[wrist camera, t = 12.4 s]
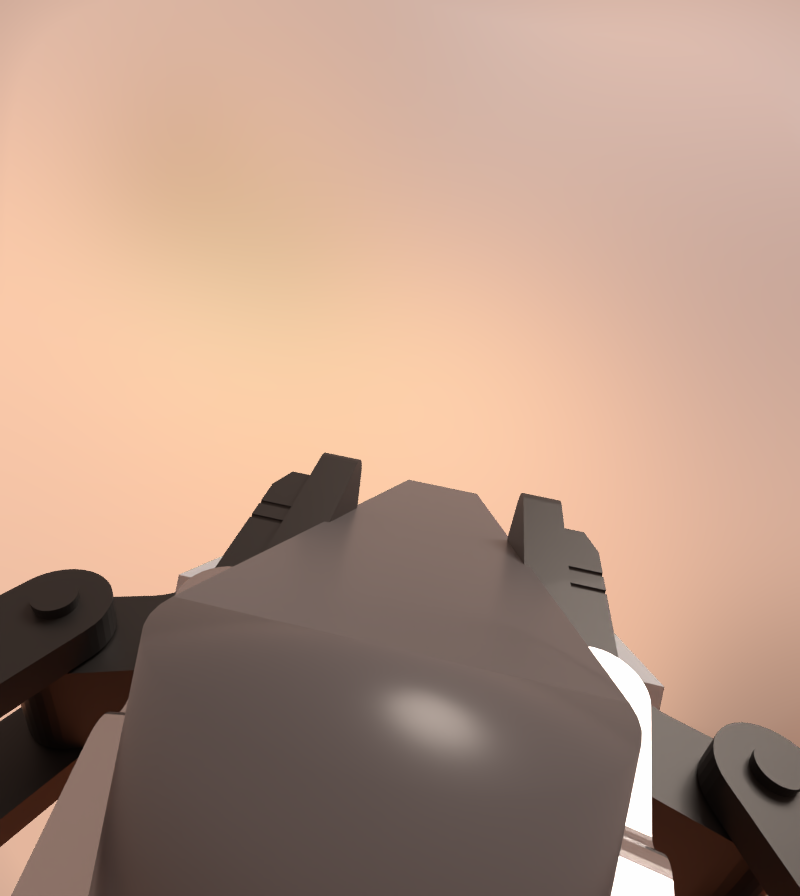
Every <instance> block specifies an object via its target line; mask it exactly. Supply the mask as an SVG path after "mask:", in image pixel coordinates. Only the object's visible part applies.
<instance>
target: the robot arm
mask: <svg viewBox="0 0 800 896" xmlns="http://www.w3.org/2000/svg"><path fill="white" fill-rule="evenodd" d="M361 464H362V463H361V460H358V459H353V458H348V457H344V456H338V455H334V454H329V453H324V454H323V455H322V456H321V458H320V460H319V461H318V463H317V465H316V466H315V468H314V470H313V471H312V473H311V475H306V474H302V473H297V472H291V473H290V474H288V475H286V476H285V477H283V478H282V479H280V480H278V481H277V482H275V483H273V484H272V486H271V487H270V488H269V490H268V491H267V493H266V494H265V496H264V497H263V499H262V501H261V503H259V504H258V506H257V507H256V509H255V510H254V512H253V513H252V517H250V518H249V519H248V521H247V522H246V524H245V525H244V526H243V528H242V529H241V531H240V532H239V533H238V535H237V536H236V538H235V539H234V541H233V542H232V544H231V545H230V547H229V548H228V549H227V551H226V552H225V554H224V555H223V557H222V558H221V560H220V561H219V563H218V564H217V565H216V567H215V568H212V569H208V570H205V571H202V572H200V573H198V574H196V575H194V576H192V577H191V578H189V579H188V580H187V581H186V582H184V583H183V584H182V585H181V587H180V588H179V589H178V591H177V592H175V593H171V594H166V595H157V596H132V597H113V592H112V588H111V586H110V584H109V582H108V581H107V580H106V579H105V578H104V577H102V576H100V575H99V574H96V573H94V572H91V571H86V570H78V569H69V570H60V571H54V572H50V573H46V574H43V575H40V576H37V577H35V578H33V579H31V580H29V581H27V582H25V583H23V584H21V585H19V586H17V587H15V588H13V589H11V590H9V591H7V592H5V593H3V594H2V595H0V718H1V717H2V716H3V715H5V714H7V713H8V712H10V711H11V710H13V709H14V708H16V707H17V706H19V705H20V704H21V708H19V709H18V710H16V711H15V712H13V713H12V714H11V715H9V716H7V717H6V718H4V719H3V720H2V721H0V847H1V846H2V845H3V844H4V843H6V842H7V841H8V840H9V839H10V838H12V837H13V836H14V835H15V834H16V833H18V832H19V831H20V830H21V829H23V828H24V827H25V826H26V825H27V824H29V823H30V822H31V821H32V820H33V819H35V818H36V817H37V816H38V815H40V814H41V813H42V812H43V811H44V810H46V809H47V808H48V807H49V806H50V805H52V804H53V803H54V802H55V801H56V800H58V801H57V803H56V805H55V807H54V809H53V811H52V813H51V815H50V817H49V819H48V821H47V823H46V825H45V828H44V829H43V832H42V834H41V836H40V838H39V840H38V842H37V844H36V846H35V848H34V850H33V852H32V854H31V856H30V859H29V860H28V862H27V865H26V867H25V869H24V871H23V873H22V875H21V877H20V879H19V881H18V883H17V885H16V887H15V889H14V891H13V893H12V895H11V896H88V895H89V890H90V885H91V880H92V875H93V870H94V865H95V860H96V856H97V851H98V846H99V841H100V836H101V831H102V826H103V821H104V816H105V811H106V806H107V801H108V797H109V792H110V787H111V782H112V777H113V772H114V767H115V762H116V757H117V752H118V747H119V742H120V737H121V733H122V728H123V723H124V718H125V713H126V708H127V703H128V698H129V693H130V688H131V683H132V678H133V674H134V669H135V664H136V659H137V654H138V649H139V644H140V639H141V634H142V629H143V625H144V623H145V621H146V620H147V618H148V616H149V614H150V613H151V612H152V611H153V610H154V609H155V608H156V607H157V606H159V605H160V604H161V603H163V602H164V601H166V600H168V599H169V598H171V597H173V596H175V595H177V594H179V593H181V592H183V591H185V590H187V589H189V588H191V587H193V586H195V585H197V584H199V583H201V582H203V581H205V580H207V579H209V578H211V577H213V576H215V575H217V574H219V573H221V572H223V571H225V570H227V569H229V568H231V567H233V566H235V565H237V564H239V563H241V562H244V561H246V560H248V559H250V558H252V557H254V556H256V555H258V554H260V553H262V552H264V551H266V550H268V549H270V548H272V547H274V546H276V545H278V544H280V543H282V542H284V541H286V540H288V539H290V538H292V537H294V536H296V535H298V534H300V533H302V532H304V531H306V530H308V529H310V528H312V527H314V526H316V525H318V524H320V523H322V522H324V521H325V522H331V521H333V520H335V519H337V518H339V517H341V516H343V515H344V514H346V513H348V512H350V511H352V510H354V509H356V508H357V505H358V496H359V487H360V477H361V469H362V468H361V466H362V465H361ZM507 540H508V542H509V543H510V545H511V546H512V548H513V549H514V551H515V552H516V553H517V555H518V556H519V558H520V559H521V561H522V562H523V564H524V565H528V566H530V567H531V569H532V570H533V572H534V573H535V574H536V576H537V577H538V578H539V580H540V581H541V583H542V584H543V585H544V587H545V588H546V589H547V591H548V592H549V593H550V595H551V596H552V598H553V599H554V600H555V602H556V603H557V604H558V606H559V607H560V608H561V610H562V611H563V613H564V614H565V615H566V617H567V618H568V619H569V621H570V622H571V624H572V625H573V626H574V628H575V629H576V630H577V632H578V633H579V634H580V636H581V637H582V639H583V640H584V641H585V643H586V644H587V645H588V647H589V648H590V649H591V651H592V652H593V654H594V655H595V656H596V658H597V659H598V660H599V662H600V663H601V665H602V666H603V667H604V669H605V670H606V671H607V673H608V674H609V675H610V677H611V678H612V680H613V681H614V682H615V684H616V685H617V686H618V688H619V689H620V691H621V692H622V693H623V695H624V696H625V697H626V699H627V700H628V701H629V703H630V704H631V706H632V708H633V709H634V711H635V713H636V714H637V716H638V718H639V722H640V725H641V728H642V746H641V751H640V756H639V761H638V766H637V771H636V776H635V781H634V785H633V790H632V795H631V800H630V805H629V810H628V815H627V820H626V825H625V830H624V835H623V840H622V845H621V850H620V855H619V860H618V865H617V869H616V874H615V879H614V884H613V889H612V894H611V896H767V895H768V896H800V748H799V747H797V746H796V745H795V744H793V743H792V742H791V741H789V740H788V739H786V738H784V737H783V736H781V735H779V734H778V733H776V732H774V731H772V730H770V729H767V728H764V727H762V726H759V725H755V724H751V723H743V722H742V723H732V724H728V725H726V726H724V727H723V728H721V729H720V730H719V731H718V732H717V734H716V735H715V737H714V738H711V737H709V736H707V735H705V734H703V733H701V732H699V731H697V730H695V729H693V728H691V727H689V726H687V725H685V724H683V723H681V722H680V721H678V720H676V719H674V718H672V717H670V716H668V715H666V714H664V713H663V712H661V711H659V710H658V709H657V708H655V707H654V706H652V705H651V703H650V697H649V694H648V691H647V689H646V687H645V685H644V683H643V682H642V680H641V679H640V678H639V676H638V675H637V674H636V673H635V672H634V671H633V670H632V669H631V668H630V667H629V666H628V665H627V664H626V663H624V662H623V661H621V660H620V659H619V658H618V652H617V647H616V642H615V637H614V631H613V626H612V621H611V615H610V610H609V605H608V600H607V595H606V594H605V591H606V589H605V584H604V579H603V577H602V568H601V563H600V557H599V553H598V551H597V550H596V548H595V547H594V546H593V544H592V543H591V541H590V540H589V539H588V538H587V536H586V535H585V533H584V532H579V531H575V530H569V529H565V528H564V522H563V513H562V505H561V502H560V501H558V500H554V499H549V498H544V497H539V496H534V495H529V494H525V493H522V494H521V495H520V497H519V500H518V503H517V507H516V510H515V514H514V517H513V521H512V524H511V528H510V531H509V535H508V538H507Z"/></svg>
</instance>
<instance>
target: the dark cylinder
mask: <svg viewBox="0 0 800 896" xmlns="http://www.w3.org/2000/svg"><path fill="white" fill-rule="evenodd" d="M507 538H508V536H507V535H506V533H505V532H504V531H503V529H502V528H501V526H500V525H499V524H498V523H497V521H496V520H495V518H494V517H493V516H492V514H491V513H490V511H489V510H488V509H487V507H486V506H485V505H484V503H483V502H482V501H481V499H480V498H479V496H478V495H477V494H474V493H469V492H465V491H459V490H455V489H450V488H445V487H441V486H436V485H431V484H426V483H421V482H416V481H412V480H407V481H406V482H403V483H401V484H399V485H397V486H395V487H393V488H391V489H389V490H387V491H385V492H383V493H381V494H379V495H377V496H375V497H373V498H371V499H369V500H367V501H365V502H363V503H361V504H359V505H357V508H356V509H354V510H352V511H350V512H348V513H346V514H344V515H343V516H341V517H339V518H337V519H335V520H333V521H331V522H325V521H324V522H322V523H320V524H318V525H316V526H314V527H312V528H310V529H308V530H306V531H304V532H302V533H300V534H298V535H296V536H294V537H292V538H290V539H288V540H286V541H284V542H282V543H280V544H278V545H276V546H274V547H272V548H270V549H268V550H266V551H264V552H262V553H260V554H258V555H256V556H254V557H252V558H250V559H248V560H246V561H244V562H241V563H239V564H237V565H235V566H233V567H231V568H229V569H227V570H225V571H223V572H221V573H219V574H217V575H215V576H213V577H211V578H209V579H207V580H205V581H203V582H201V583H199V584H197V585H195V586H193V587H191V588H189V589H187V590H185V591H183V592H181V593H179V594H177V595H175V596H173V597H171V598H169V599H168V600H166V601H164V602H163V603H161V604H160V605H159V606H157V607H156V608H155V609H154V610H153V611H152V612H151V613H150V614H149V616H148V618H147V620H146V621H145V623H144V625H143V629H142V634H141V639H140V644H139V649H138V654H137V659H136V664H135V669H134V674H133V678H132V683H131V688H130V693H129V698H128V703H127V708H126V713H125V718H124V723H123V728H122V733H121V737H120V742H119V747H118V752H117V757H116V762H115V767H114V772H113V777H112V782H111V787H110V792H109V797H108V801H107V806H106V811H105V816H104V821H103V826H102V831H101V836H100V841H99V846H98V851H97V856H96V860H95V865H94V870H93V875H92V880H91V885H90V890H89V895H88V896H611V894H612V889H613V884H614V879H615V874H616V869H617V865H618V860H619V855H620V850H621V845H622V840H623V835H624V830H625V825H626V820H627V815H628V810H629V805H630V800H631V795H632V790H633V785H634V781H635V776H636V771H637V766H638V761H639V756H640V751H641V746H642V728H641V725H640V722H639V718H638V716H637V714H636V713H635V711H634V709H633V708H632V706H631V704H630V703H629V701H628V700H627V699H626V697H625V696H624V695H623V693H622V692H621V691H620V689H619V688H618V686H617V685H616V684H615V682H614V681H613V680H612V678H611V677H610V675H609V674H608V673H607V671H606V670H605V669H604V667H603V666H602V665H601V663H600V662H599V660H598V659H597V658H596V656H595V655H594V654H593V652H592V651H591V649H590V648H589V647H588V645H587V644H586V643H585V641H584V640H583V639H582V637H581V636H580V634H579V633H578V632H577V630H576V629H575V628H574V626H573V625H572V624H571V622H570V621H569V619H568V618H567V617H566V615H565V614H564V613H563V611H562V610H561V608H560V607H559V606H558V604H557V603H556V602H555V600H554V599H553V598H552V596H551V595H550V593H549V592H548V591H547V589H546V588H545V587H544V585H543V584H542V583H541V581H540V580H539V578H538V577H537V576H536V574H535V573H534V572H533V570H532V569H531V567H530V566H528V565H524V564H523V562H522V561H521V559H520V558H519V556H518V555H517V553H516V552H515V551H514V549H513V548H512V546H511V545H510V543H509V542H508V540H507Z"/></svg>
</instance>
